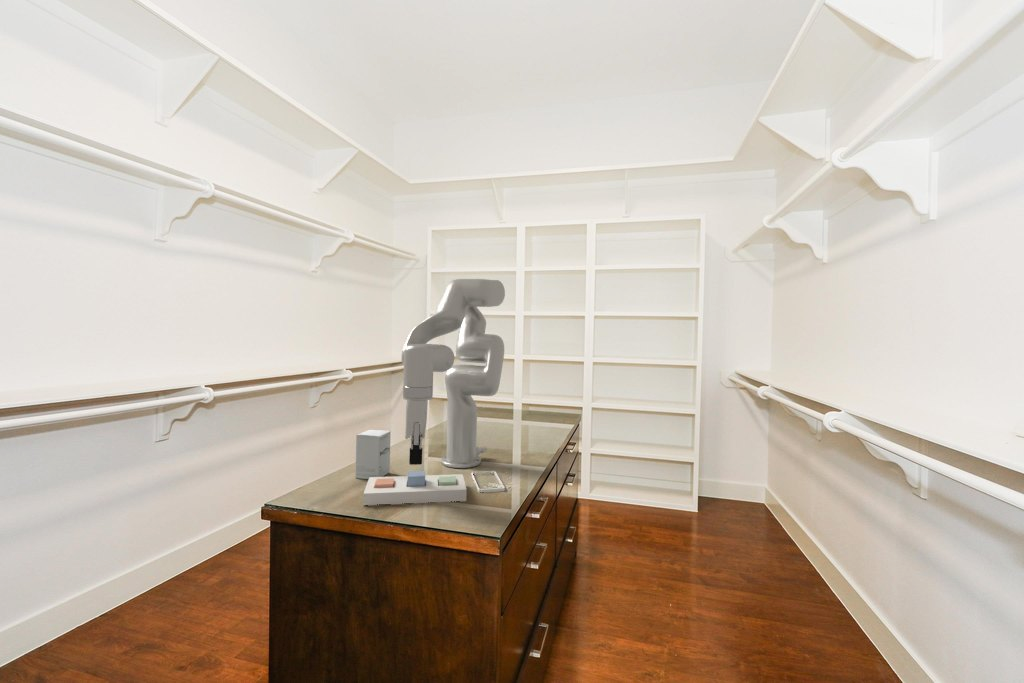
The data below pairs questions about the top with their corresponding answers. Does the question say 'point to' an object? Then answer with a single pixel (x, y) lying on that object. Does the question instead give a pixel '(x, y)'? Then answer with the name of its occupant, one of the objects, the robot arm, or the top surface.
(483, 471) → the white rectangular frame
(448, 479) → the button sage
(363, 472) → the supplement box
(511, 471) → the top surface
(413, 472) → the button slate
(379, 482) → the button terracotta
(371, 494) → the button panel
